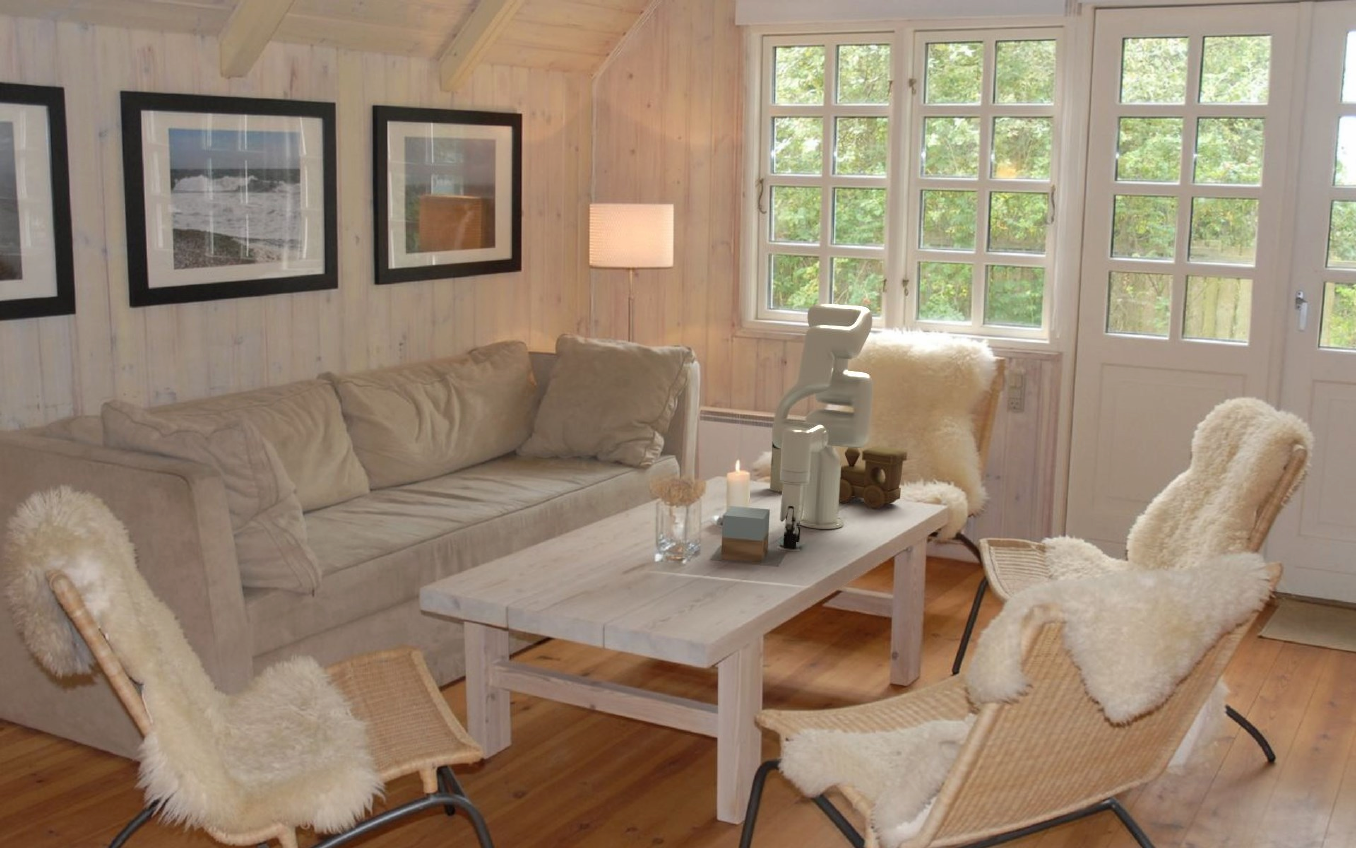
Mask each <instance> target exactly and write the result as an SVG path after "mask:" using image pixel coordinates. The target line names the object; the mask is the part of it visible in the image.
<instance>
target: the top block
mask: <svg viewBox="0 0 1356 848" xmlns="http://www.w3.org/2000/svg"><path fill="white" fill-rule="evenodd" d="M770 510H771V509H768V508H757V507H745V506H734V505H730V506H729V507H728V508H727V510H726V511H725V512H724V513H723V514H722V523H721V524H722V529H721V538H722V537H726V538H737V539H748V540H758V541H763V539H764V537H765V536H766V534H767V533H768V531H770V530H769V529H770V516H771V515H770V513H771V512H770Z"/></svg>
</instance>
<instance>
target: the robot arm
mask: <svg viewBox="0 0 1356 848" xmlns="http://www.w3.org/2000/svg"><path fill="white" fill-rule="evenodd" d="M807 324H808V329H807V330H806V333H805V335H804V341H803V348H802V352H801V360H800V364H799V365H800V366H799V372H798V377H797V381H796V382H795V383H794V384H793V385H792V386H791V387H790V388H788V389H787V391H785V393H784V394H783V395H782V397H781V398H780V399H779V401H778V403H777V406H776V409H775V412H774V418H773V423H772V430H771V442H772V441H773V444H774V445H775V446H776V447H777V448H780V449H782V451H781V470H780V482H782V483H784V484H783V490H782V493H781V501H780V502H781V503H780V514H779V521H780V522H781V523H782V522H783V521H785V524H784V530H783V531H784V532H783V538H784V541H783V546H782V548H785V549H796V544H797V543H800V542H801V541H800V540H801V526H802V527H806V528H808V529H810V528H811V529H819V530H820V529H821V530H833V529H839V528H841V527H843V526H844V523H845V522H844V519H842V518H841V517H839V510H840V509H839V508H840V505H839V504H840V502H839V493H840V476H841V467H842V460H841V457H840V455H839V452H838V451H837V450H836V448H835V447H841V448H843V447H844V448H848V447H851V448H857V449H861V448H864V447H865V446H866V445H867V444H868V442H869V438H870V434H871V433H870V431H871V423H872V412H873V402H874V382H873V379H872V377H871V375H869V374H868V373H866V372H862V371H851V370H849V360H855V359H856V358H858V356H859V355H860V354H861V352H862V349H863V347H864V345H865V343H866V342H867V339H868V338H869V336H870V333H871V331H872V326H873V315H872V312H871V310H870V309H869V308H867V307H866V306H860V305H848V304H836V303H818V304H813V305H812V306H810V307H809V308H808V310H807ZM811 396H814V398H815V401H817V402H818V403H821V404H824V405H831V406H839V407H850V408H853V411H847V410H846V411H843V410H839V409H838V410H836V409H825V408H819V409H814V410H812V411H810V412H809V413H807V415H806V416H805V419H804V421H799V420H788V417H789V413H790V411H791V409H792V408H793V407H794V406H795V404H797V403H798V402H800V401H801V400H803V399H806V398H808V397H811ZM793 525H794V526H793ZM796 526H797V528H798V531H799V532H798V535H797V534H796ZM793 527H794V528H793Z"/></svg>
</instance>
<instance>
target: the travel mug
mask: <svg viewBox="0 0 1356 848" xmlns="http://www.w3.org/2000/svg"><path fill="white" fill-rule="evenodd" d="M771 443H772V444H771V460H770V462H771V463H770V481H769V489H770V490H771V491H773V492H774V493H775V492H777V493H781V494H782V490H783V484H784V483H782V482H780V470H781V451H782V449H780V448H777V447H776V446H775V445H774V444H773V441H772V440H771Z"/></svg>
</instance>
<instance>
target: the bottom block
mask: <svg viewBox="0 0 1356 848" xmlns="http://www.w3.org/2000/svg"><path fill="white" fill-rule="evenodd" d="M769 531H770V530H769ZM769 531H768V533H767V534H766V536H765V537H764V539H763V541H758V540H748V539H737V538H726V537H722V536H721V546H722V548H721V559H728V560H739V561H749V562H759V563H761V562H762V561H763V559H764V557H765V556H766V554H767V552H768V550H769V537H770V536H769V535H770V533H769Z"/></svg>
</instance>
